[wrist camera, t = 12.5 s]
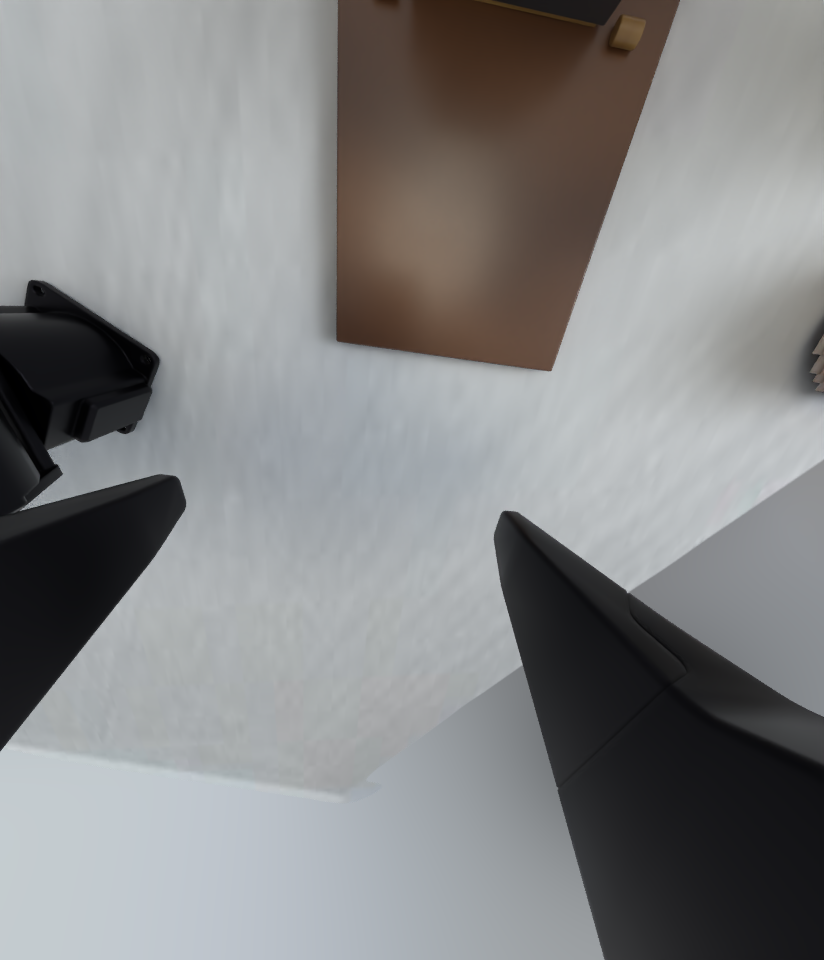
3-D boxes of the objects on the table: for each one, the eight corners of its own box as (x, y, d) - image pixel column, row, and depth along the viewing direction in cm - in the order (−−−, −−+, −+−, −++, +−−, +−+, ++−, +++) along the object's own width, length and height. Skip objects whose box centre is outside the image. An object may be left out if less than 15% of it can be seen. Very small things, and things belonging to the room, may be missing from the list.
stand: (344, -202, 10) (333, -286, 9) (704, -104, 11) (749, -166, 9) (339, 340, 18) (333, 342, 17) (545, 368, 19) (556, 373, 18)
